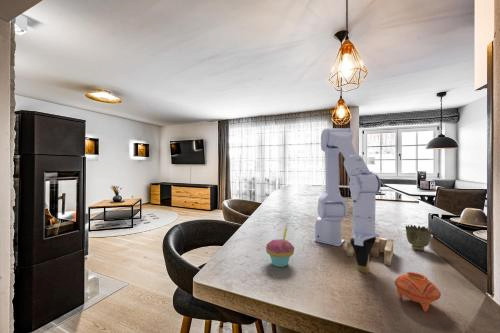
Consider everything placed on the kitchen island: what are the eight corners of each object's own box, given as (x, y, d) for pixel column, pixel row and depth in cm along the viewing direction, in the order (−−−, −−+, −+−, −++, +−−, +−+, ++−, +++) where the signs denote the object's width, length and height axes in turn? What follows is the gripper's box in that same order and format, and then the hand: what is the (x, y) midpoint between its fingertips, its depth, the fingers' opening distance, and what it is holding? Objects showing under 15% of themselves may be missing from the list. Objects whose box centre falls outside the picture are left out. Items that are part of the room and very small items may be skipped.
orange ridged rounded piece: (395, 306, 45) (394, 272, 47) (395, 297, 52) (394, 267, 53) (445, 320, 41) (443, 282, 43) (438, 308, 47) (436, 275, 49)
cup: (436, 255, 73) (436, 231, 73) (411, 253, 74) (412, 229, 74) (423, 246, 80) (423, 225, 80) (401, 245, 81) (401, 224, 81)
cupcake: (295, 259, 68) (296, 222, 68) (291, 272, 60) (292, 229, 60) (269, 255, 71) (269, 219, 71) (262, 267, 63) (262, 226, 63)
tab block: (352, 269, 62) (352, 247, 62) (363, 249, 77) (364, 231, 77) (372, 275, 59) (372, 251, 59) (380, 252, 74) (380, 233, 74)
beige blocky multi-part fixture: (346, 255, 72) (347, 241, 72) (354, 244, 81) (354, 232, 81) (390, 266, 64) (390, 251, 64) (393, 253, 74) (393, 239, 74)
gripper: (376, 223, 53) (375, 278, 53) (382, 213, 65) (382, 258, 65) (346, 219, 58) (345, 269, 58) (357, 210, 69) (356, 252, 69)
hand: (363, 263), depth 62 cm, fingers closed on tab block, 3 cm apart
